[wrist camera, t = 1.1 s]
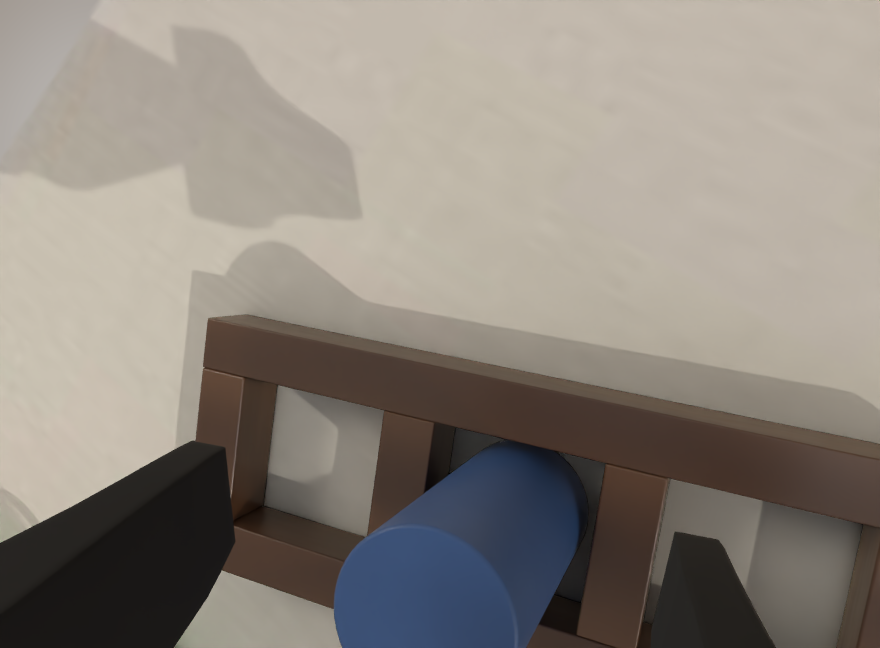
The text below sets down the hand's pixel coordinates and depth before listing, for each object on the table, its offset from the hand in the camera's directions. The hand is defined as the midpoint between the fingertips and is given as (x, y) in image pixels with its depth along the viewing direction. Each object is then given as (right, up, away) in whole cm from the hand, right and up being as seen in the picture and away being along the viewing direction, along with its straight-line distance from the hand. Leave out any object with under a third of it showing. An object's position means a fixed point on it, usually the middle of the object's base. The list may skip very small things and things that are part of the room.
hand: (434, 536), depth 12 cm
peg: (+3, -2, +11) cm, 11 cm away
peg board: (+3, -2, +11) cm, 11 cm away
